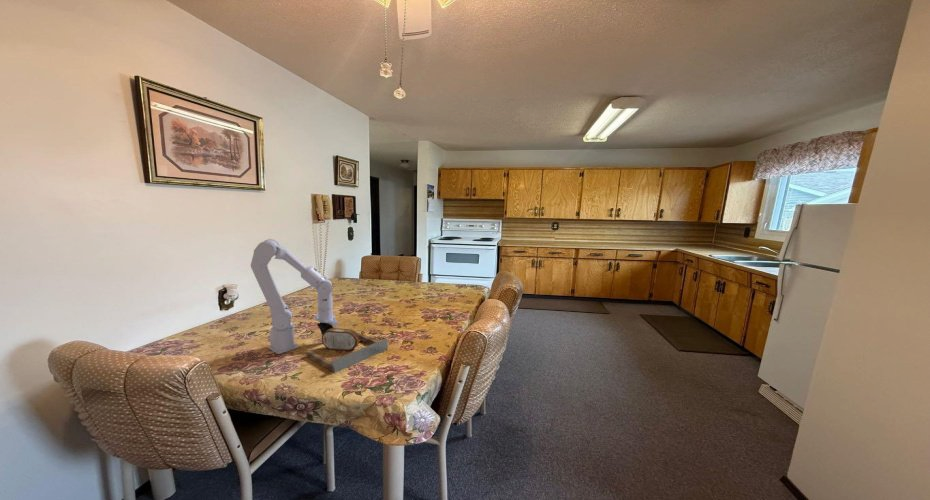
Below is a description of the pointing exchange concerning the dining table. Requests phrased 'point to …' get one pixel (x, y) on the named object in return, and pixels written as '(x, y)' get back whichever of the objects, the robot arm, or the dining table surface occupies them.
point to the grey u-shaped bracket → (351, 354)
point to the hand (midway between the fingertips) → (326, 339)
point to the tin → (340, 339)
